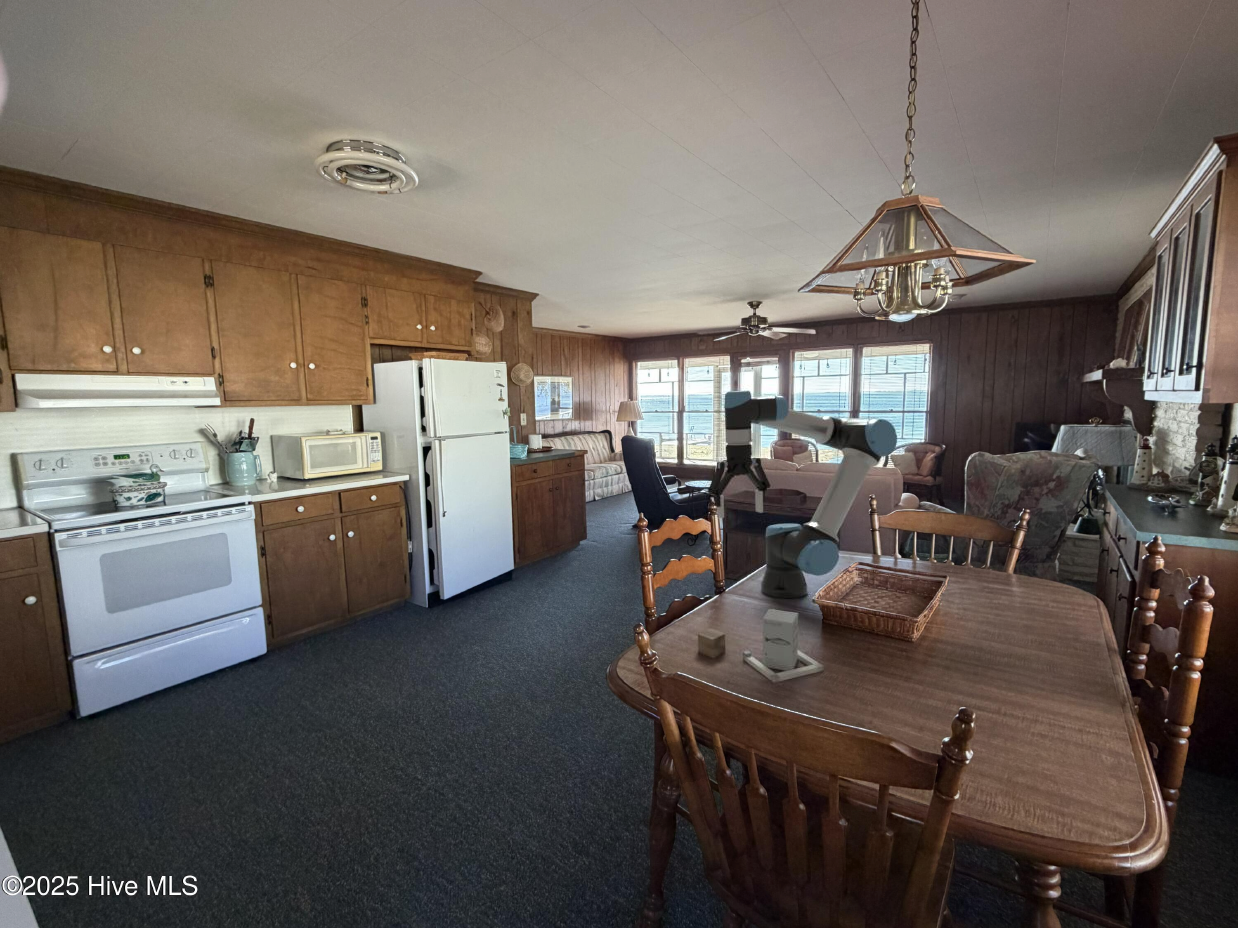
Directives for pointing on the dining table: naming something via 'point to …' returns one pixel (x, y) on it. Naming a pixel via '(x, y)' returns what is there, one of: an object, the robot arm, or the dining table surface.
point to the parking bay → (785, 675)
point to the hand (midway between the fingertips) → (740, 514)
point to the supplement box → (780, 639)
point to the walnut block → (711, 642)
